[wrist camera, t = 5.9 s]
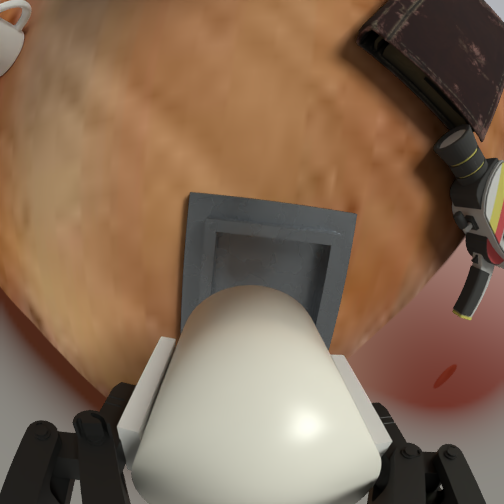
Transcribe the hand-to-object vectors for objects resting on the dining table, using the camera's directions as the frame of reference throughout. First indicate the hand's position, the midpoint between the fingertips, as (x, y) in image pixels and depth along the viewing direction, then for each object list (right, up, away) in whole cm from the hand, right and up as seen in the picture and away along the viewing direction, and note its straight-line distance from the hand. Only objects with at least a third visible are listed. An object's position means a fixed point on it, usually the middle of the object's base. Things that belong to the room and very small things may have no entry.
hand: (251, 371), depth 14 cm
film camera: (+25, +9, +15) cm, 30 cm away
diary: (+26, +34, +10) cm, 44 cm away
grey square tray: (+1, +3, +15) cm, 15 cm away
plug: (0, 0, +2) cm, 2 cm away
